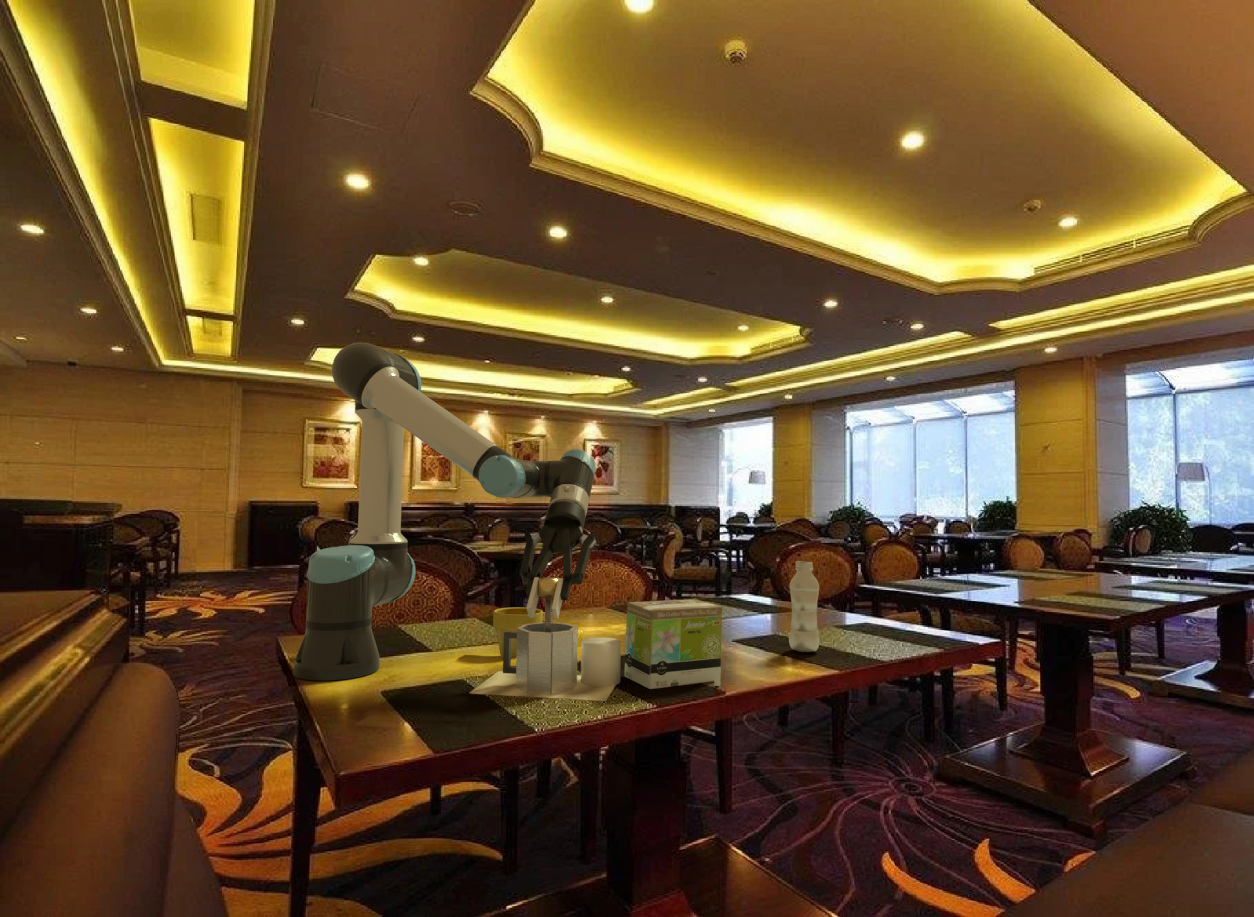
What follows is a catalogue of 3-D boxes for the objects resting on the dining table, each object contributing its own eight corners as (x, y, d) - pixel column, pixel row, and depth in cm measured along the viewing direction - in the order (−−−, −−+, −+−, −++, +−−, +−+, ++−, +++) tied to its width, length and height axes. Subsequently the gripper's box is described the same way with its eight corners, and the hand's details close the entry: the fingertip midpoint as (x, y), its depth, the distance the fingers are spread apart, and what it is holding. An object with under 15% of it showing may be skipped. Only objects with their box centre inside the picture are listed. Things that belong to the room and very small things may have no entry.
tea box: (650, 697, 117) (651, 609, 117) (623, 682, 125) (624, 601, 126) (722, 687, 123) (723, 604, 124) (692, 674, 132) (693, 597, 133)
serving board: (468, 700, 113) (468, 693, 113) (498, 677, 128) (498, 670, 128) (605, 708, 110) (605, 700, 110) (620, 683, 124) (620, 677, 124)
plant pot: (546, 652, 149) (547, 607, 149) (535, 664, 138) (536, 615, 139) (500, 651, 150) (501, 606, 150) (485, 662, 140) (487, 613, 140)
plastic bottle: (795, 647, 158) (795, 560, 159) (824, 651, 154) (823, 562, 155) (784, 652, 153) (784, 562, 154) (813, 656, 149) (813, 564, 150)
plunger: (521, 669, 115) (523, 580, 116) (533, 660, 122) (534, 575, 123) (562, 671, 114) (563, 581, 115) (571, 662, 121) (572, 577, 122)
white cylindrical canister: (576, 685, 118) (577, 644, 119) (585, 675, 125) (585, 636, 126) (616, 687, 117) (617, 646, 118) (622, 677, 124) (623, 638, 125)
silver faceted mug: (494, 691, 114) (495, 631, 115) (512, 676, 124) (513, 620, 124) (567, 695, 112) (569, 634, 113) (580, 680, 122) (581, 623, 122)
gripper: (521, 498, 131) (489, 598, 113) (607, 499, 128) (588, 601, 111) (528, 525, 136) (499, 624, 118) (611, 526, 133) (593, 628, 116)
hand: (542, 613), depth 115 cm, fingers closed on plunger, 4 cm apart
